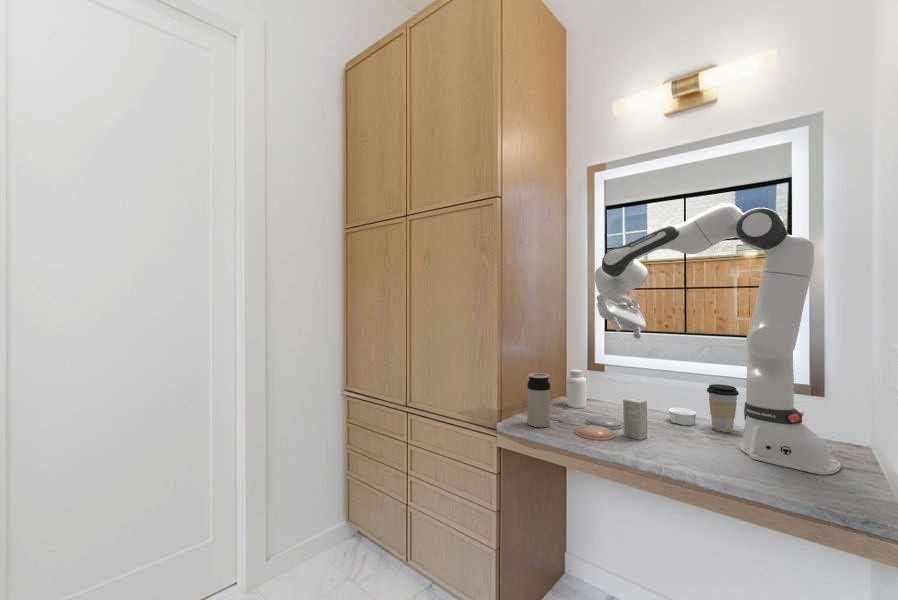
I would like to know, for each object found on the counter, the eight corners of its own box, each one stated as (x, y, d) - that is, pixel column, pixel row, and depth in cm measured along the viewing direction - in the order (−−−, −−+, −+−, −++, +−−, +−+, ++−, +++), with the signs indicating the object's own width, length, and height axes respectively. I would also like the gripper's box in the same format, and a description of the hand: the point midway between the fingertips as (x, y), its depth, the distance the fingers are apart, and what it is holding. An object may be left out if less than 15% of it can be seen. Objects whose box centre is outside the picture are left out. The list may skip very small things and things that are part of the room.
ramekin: (702, 424, 150) (702, 412, 150) (684, 427, 147) (684, 415, 147) (680, 418, 159) (680, 406, 159) (663, 420, 155) (663, 409, 155)
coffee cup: (744, 435, 139) (744, 390, 139) (712, 433, 141) (713, 388, 141) (730, 426, 148) (731, 384, 148) (701, 424, 150) (702, 383, 150)
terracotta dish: (623, 435, 138) (623, 432, 138) (598, 443, 131) (598, 439, 131) (591, 425, 149) (591, 421, 149) (566, 431, 142) (566, 428, 142)
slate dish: (631, 425, 149) (631, 422, 149) (608, 432, 142) (608, 428, 142) (600, 416, 160) (600, 413, 160) (578, 422, 153) (578, 418, 153)
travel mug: (554, 425, 148) (554, 375, 148) (539, 429, 144) (539, 377, 144) (538, 420, 155) (538, 371, 155) (522, 423, 150) (522, 374, 150)
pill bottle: (563, 403, 179) (564, 369, 178) (581, 403, 179) (581, 368, 179) (571, 408, 171) (571, 372, 171) (589, 408, 172) (590, 372, 171)
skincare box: (647, 437, 136) (648, 400, 136) (640, 440, 133) (640, 402, 133) (630, 432, 141) (630, 396, 141) (622, 435, 139) (622, 398, 138)
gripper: (602, 288, 143) (614, 320, 134) (641, 305, 152) (655, 337, 143) (589, 298, 147) (600, 330, 138) (628, 315, 156) (641, 346, 147)
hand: (628, 333), depth 140 cm, fingers open, 8 cm apart
